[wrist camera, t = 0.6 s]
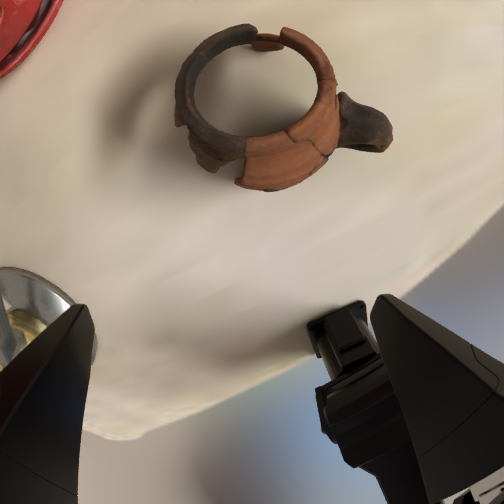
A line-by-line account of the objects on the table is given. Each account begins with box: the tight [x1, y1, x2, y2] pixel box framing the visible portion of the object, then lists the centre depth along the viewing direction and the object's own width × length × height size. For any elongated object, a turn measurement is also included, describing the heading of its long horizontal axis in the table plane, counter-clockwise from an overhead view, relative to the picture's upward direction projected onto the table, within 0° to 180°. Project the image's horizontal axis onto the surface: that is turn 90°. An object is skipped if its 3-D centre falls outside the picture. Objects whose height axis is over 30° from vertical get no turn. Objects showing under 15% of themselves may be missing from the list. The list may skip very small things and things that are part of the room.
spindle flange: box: [0, 267, 97, 369], centre depth 20 cm, size 15×15×7 cm
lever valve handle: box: [0, 291, 47, 372], centre depth 17 cm, size 16×7×6 cm, turn 161°
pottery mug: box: [174, 24, 393, 192], centre depth 15 cm, size 12×10×8 cm
